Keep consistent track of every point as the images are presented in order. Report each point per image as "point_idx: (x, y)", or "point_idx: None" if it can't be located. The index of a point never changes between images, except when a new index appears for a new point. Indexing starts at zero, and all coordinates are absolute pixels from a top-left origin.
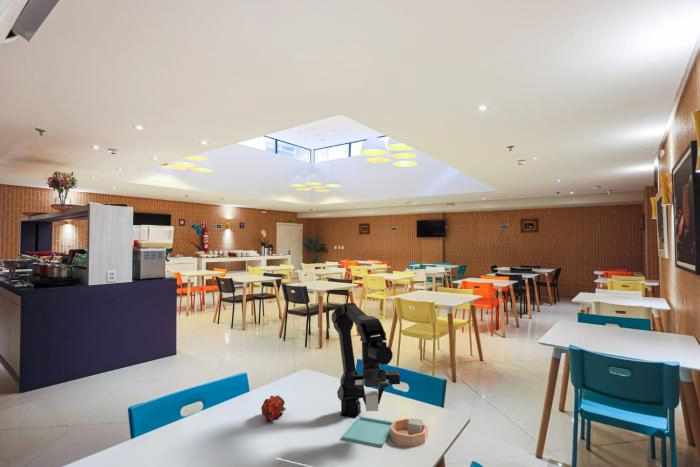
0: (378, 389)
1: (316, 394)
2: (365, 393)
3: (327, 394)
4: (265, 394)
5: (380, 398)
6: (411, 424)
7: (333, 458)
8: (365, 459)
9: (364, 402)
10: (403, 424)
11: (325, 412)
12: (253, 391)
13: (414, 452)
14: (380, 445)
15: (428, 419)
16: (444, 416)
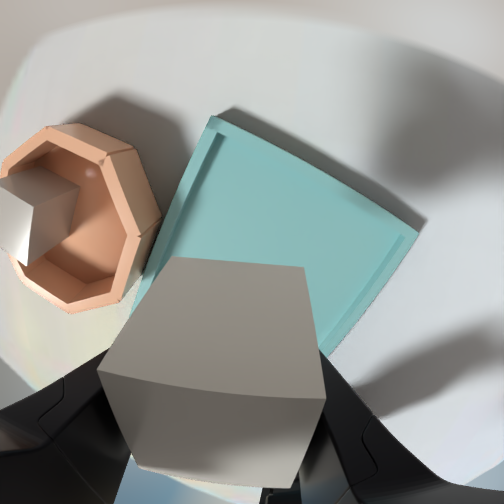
0: (102, 470)
1: None
2: (301, 456)
3: None
4: (484, 463)
5: (101, 355)
6: (21, 197)
7: (458, 82)
8: (316, 32)
9: (320, 353)
10: (89, 290)
11: (400, 425)
12: (494, 465)
13: (76, 87)
14: (220, 119)
15: (34, 332)
16: (3, 334)
